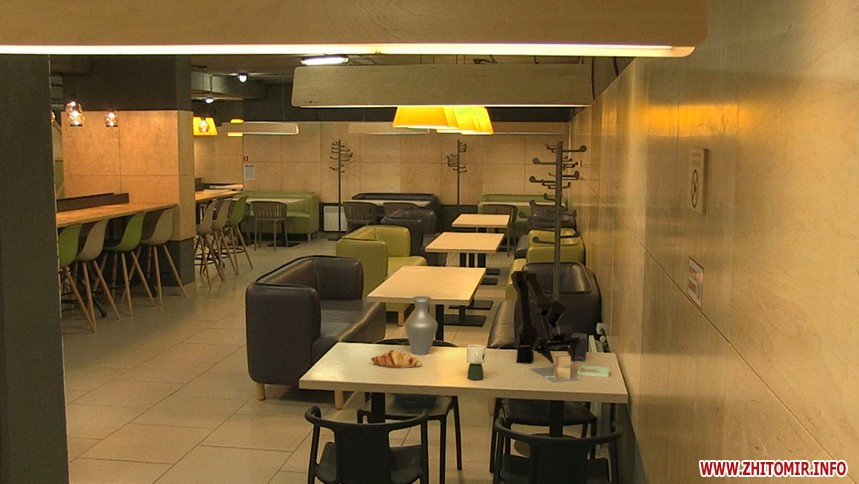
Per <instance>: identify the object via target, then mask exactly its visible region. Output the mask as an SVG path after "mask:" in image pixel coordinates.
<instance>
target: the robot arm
mask: <svg viewBox="0 0 859 484" xmlns="http://www.w3.org/2000/svg"><path fill="white" fill-rule="evenodd" d="M510 279H511V283H512V287H513V288H514V290H515V291H516V294H517V295H516V296H517V304H518V313H519V315H518V316H519V327H518V329H517V331H516V336H515V339H514V340H513V347H514V348H515V349H516V361H515V362H516V363H519V364H530V365H531V364H532V363H533V362H534V360H535V356H534V355H535V353H536V352H537V354H540V355H541V356H542V357H544V358H545V359H547V361H548V362H550V364H551V365H552V364H553V365H554V358H553V355H552V353H551V352H552V351H550V347H566V351H567V353H568V355H569V356H571V361H572V363H575V362H576V361H575V350H576V349H577V348H578V346H579V345H580V343H581V339H580V338H579V337H578V336H577V337H572V336H569V338H568V339H567V340H565V339H566V336H567V335H569V334H570V333H573V332H572V331H573V328H572V325H571V324H569V323H568V324H565V325H558V322H560V320H561V319H562V317H563V315H564V313H565V312H566V307H565V306H564V305H562V303H559V301H558V300H551V299H550V298H549V297H547V296H546V295H545V292H544V291H543V289H542V286H541V284H540V282H539V280H538V276H537V272H534V271H532V272H531V271H529V270H513V272H512V273H511V274H510ZM529 293H530V294H529ZM529 295H531V298H532V300H533V303H534V304H533V311H534V313H535V315H536V316H537V317H542V318H541V320H540V322H539V323H540V324H539V326H540V327H543V330H544V338H543V337H539V336H538V329H537V327H536V326H534V325H533V323H532V315H531V306H530V305H531V304H530V296H529Z"/></svg>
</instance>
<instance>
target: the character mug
mask: <svg viewBox="0 0 859 484" xmlns="http://www.w3.org/2000/svg"><path fill="white" fill-rule="evenodd" d="M485 362H486V346H485V345H483V344H468V345H467V346H466V363H469V365H468V370H467V379H474V380H475V381H476V380H483V379H484V368H483V365H482V364H484V363H485Z"/></svg>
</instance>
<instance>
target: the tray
mask: <svg viewBox="0 0 859 484" xmlns="http://www.w3.org/2000/svg"><path fill="white" fill-rule="evenodd" d="M582 369H585V370H595V371H596V372H594V371H593V372H592V371H582ZM609 374H610V367H609V366H598V365H584V364H583V365H581V364H579V365H578V368H577V375H579V376H580V375H581V376H590V377H591V376H593V377H603V378H605V377H606V378H609V376H610V375H609Z"/></svg>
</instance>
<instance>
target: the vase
mask: <svg viewBox="0 0 859 484" xmlns="http://www.w3.org/2000/svg"><path fill="white" fill-rule="evenodd" d="M412 300H413V303H414V308H415V309H414V312H413V315H411V316H410V317H409V318H408V319H407V320H405V322H404V328H405V332H406V336H407V340H408V343H409V346H410V348H411V350H412V354H413V355H416V356H425V355H429V352H430V350H431V348H432V346H433V342H434V340H435V337H436V334H437V330H438V321H437V320H435V318H433V317H432V316H431V315H430V313H429V305H430V302H431V300H432V297H430V296H424V295H423V296H422V295H421V296H420V295H418V296H417V295H416V296H413V297H412Z"/></svg>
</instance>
